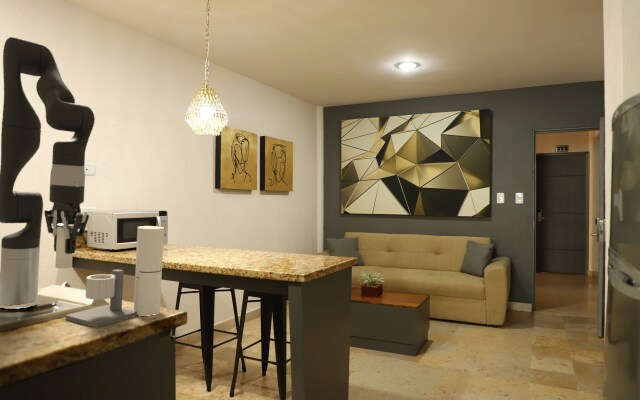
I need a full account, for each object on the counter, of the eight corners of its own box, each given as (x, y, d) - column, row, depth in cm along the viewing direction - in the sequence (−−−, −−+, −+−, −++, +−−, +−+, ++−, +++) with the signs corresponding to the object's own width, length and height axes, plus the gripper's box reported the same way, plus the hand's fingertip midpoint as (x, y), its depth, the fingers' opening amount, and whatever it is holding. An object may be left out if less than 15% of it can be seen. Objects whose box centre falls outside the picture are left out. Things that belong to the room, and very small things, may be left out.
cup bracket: (65, 319, 120) (67, 273, 120) (106, 308, 132) (108, 266, 132) (96, 328, 115) (99, 279, 115) (136, 315, 127) (138, 272, 127)
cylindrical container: (150, 317, 126) (155, 229, 126) (128, 314, 128) (132, 227, 127) (164, 311, 133) (168, 227, 133) (142, 308, 135) (147, 225, 134)
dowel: (52, 266, 112) (53, 226, 111) (65, 264, 115) (67, 226, 115) (61, 268, 110) (63, 228, 110) (75, 266, 113) (77, 227, 113)
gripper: (34, 181, 111) (31, 250, 112) (73, 185, 105) (69, 258, 106) (62, 182, 118) (59, 247, 119) (100, 185, 112) (97, 254, 113)
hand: (64, 251), depth 112 cm, fingers closed on dowel, 3 cm apart
